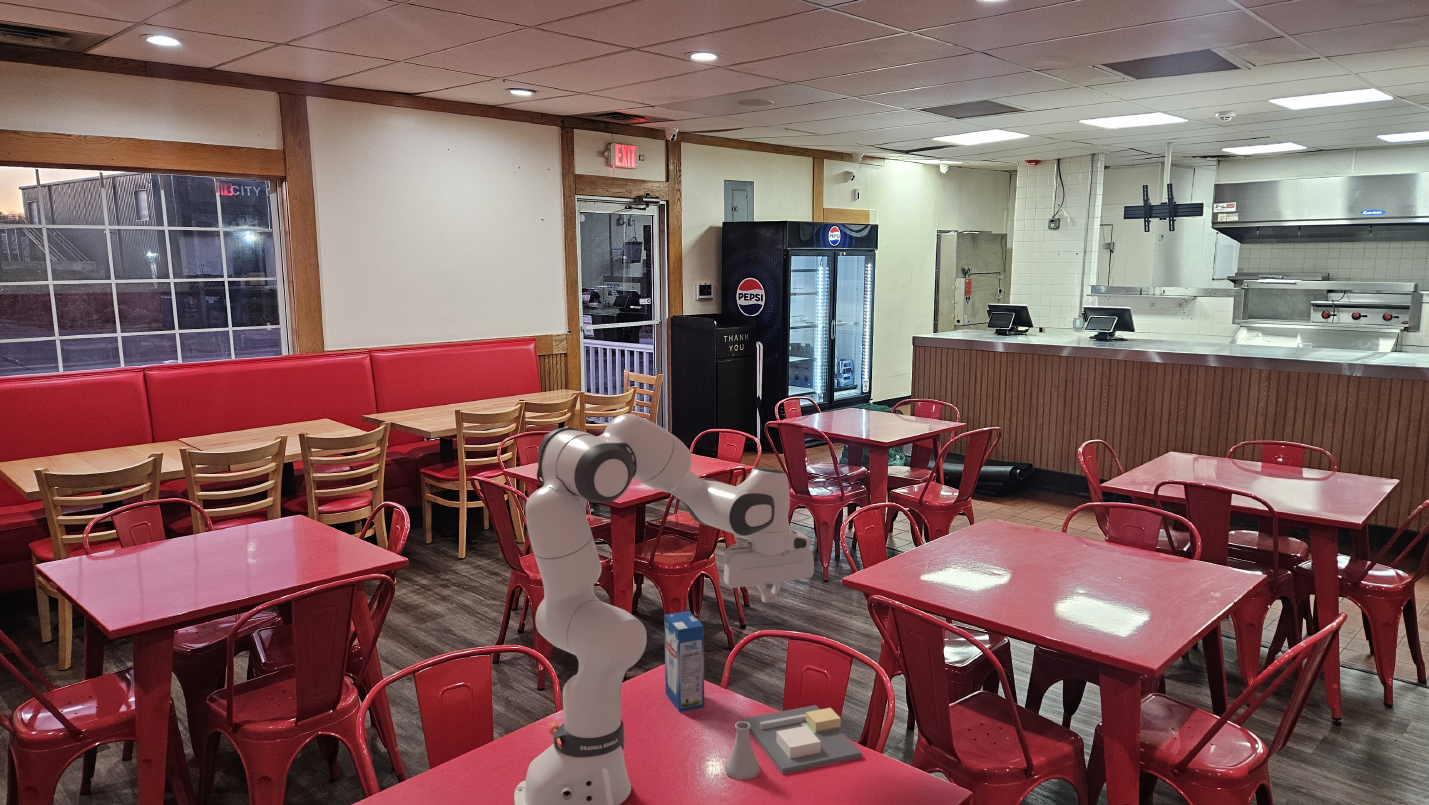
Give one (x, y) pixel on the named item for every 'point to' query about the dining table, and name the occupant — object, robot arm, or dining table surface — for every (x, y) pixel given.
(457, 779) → the dining table surface
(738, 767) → the flask
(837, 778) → the dining table surface
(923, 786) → the dining table surface
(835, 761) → the ticket board
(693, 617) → the milk carton
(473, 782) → the dining table surface
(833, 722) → the stub
